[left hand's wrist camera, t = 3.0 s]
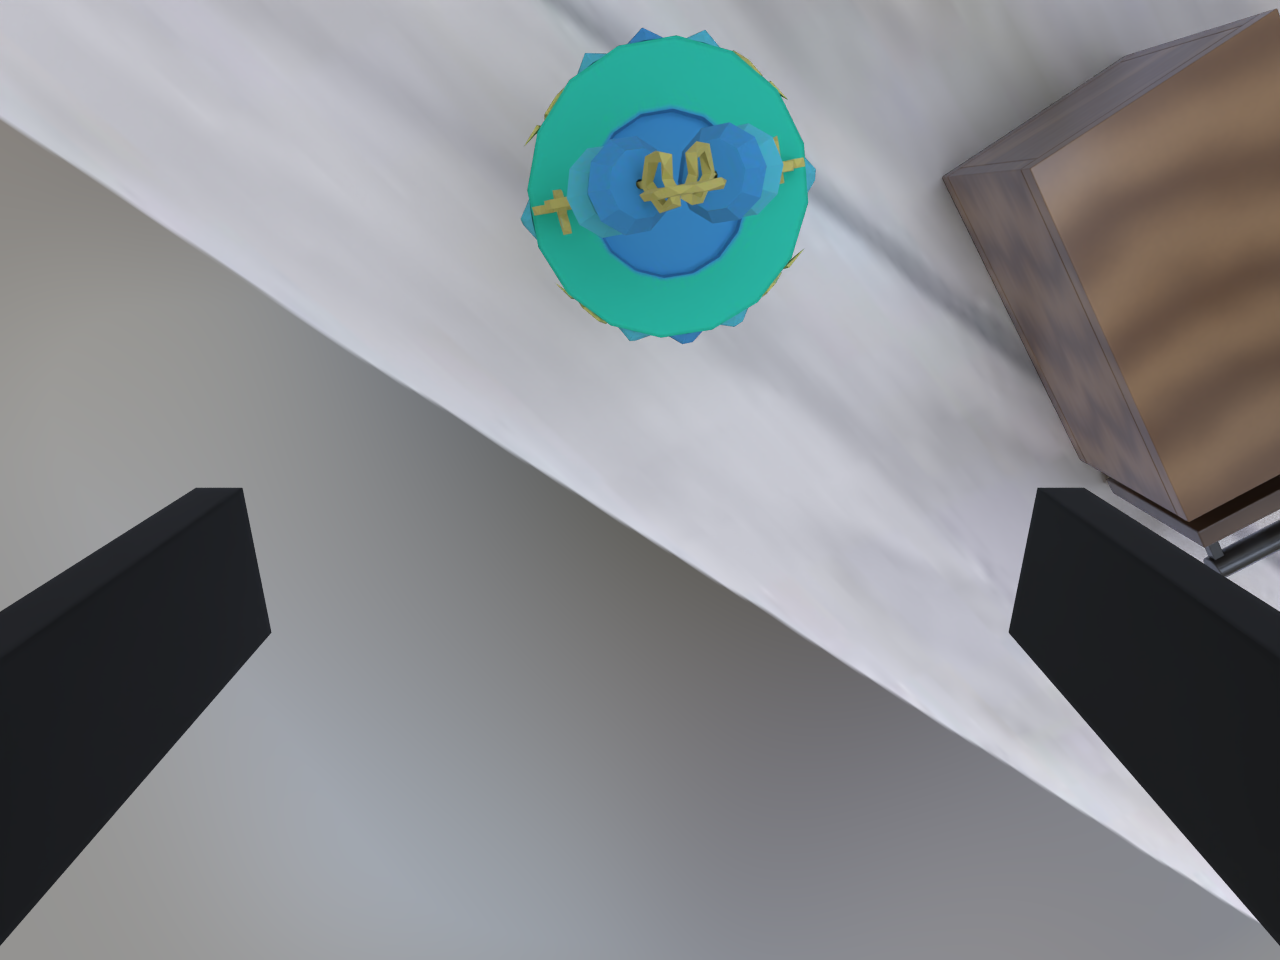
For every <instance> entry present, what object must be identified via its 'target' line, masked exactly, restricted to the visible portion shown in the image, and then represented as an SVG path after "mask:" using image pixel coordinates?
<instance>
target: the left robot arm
mask: <svg viewBox="0 0 1280 960" xmlns="http://www.w3.org/2000/svg"><path fill="white" fill-rule="evenodd" d="M270 634H271V629H270V624H269V618H268V613H267V608H266V603H265V598H264V593H263V588H262V583H261V578H260V573H259V569H258V563H257V558H256V553H255V548H254V543H253V538H252V533H251V528H250V523H249V518H248V513H247V508H246V503H245V498H244V493H243V489H242V488H195V489H193V490H192V491H190V492H189V493H187V494H185V495H184V496H182V497H181V498H179V499H178V500H176V501H174V502H173V503H171V504H170V505H168V506H167V507H165V508H163V509H162V510H160V511H159V512H157V513H155V514H154V515H152V516H151V517H149V518H148V519H146V520H144V521H143V522H141V523H140V524H138V525H137V526H135V527H133V528H132V529H130V530H129V531H127V532H126V533H124V534H122V535H121V536H119V537H118V538H116V539H114V540H113V541H111V542H110V543H108V544H107V545H105V546H103V547H102V548H100V549H99V550H97V551H95V552H94V553H92V554H91V555H89V556H88V557H86V558H84V559H83V560H81V561H80V562H78V563H76V564H75V565H73V566H72V567H70V568H69V569H67V570H65V571H64V572H62V573H61V574H59V575H58V576H56V577H54V578H53V579H51V580H50V581H48V582H47V583H45V584H43V585H42V586H40V587H39V588H37V589H35V590H34V591H32V592H31V593H29V594H27V595H26V596H24V597H23V598H21V599H20V600H18V601H16V602H15V603H13V604H12V605H10V606H9V607H7V608H5V609H4V610H2V611H1V612H0V945H1V944H2V943H3V942H4V941H5V940H6V938H7V937H8V936H9V935H10V934H11V933H12V931H13V930H14V929H15V928H16V927H17V926H18V924H19V923H20V922H21V921H22V920H23V919H24V918H25V916H26V915H27V914H28V913H29V912H30V911H31V909H32V908H33V907H34V906H35V905H36V904H37V903H38V901H39V900H40V899H41V898H42V897H43V896H44V894H45V893H46V892H47V891H48V890H49V889H50V888H51V886H52V885H53V884H54V883H55V882H56V881H57V879H58V878H59V877H60V876H61V875H62V874H63V873H64V871H65V870H66V869H67V868H68V867H69V866H70V864H71V863H72V862H73V861H74V860H75V859H76V858H77V856H78V855H79V854H80V853H81V852H82V851H83V849H84V848H85V847H86V846H87V845H88V844H89V843H90V841H91V840H92V839H93V838H94V837H95V836H96V834H97V833H98V832H99V831H100V830H101V829H102V828H103V826H104V825H105V824H106V823H107V822H108V821H109V819H110V818H111V817H112V816H113V815H114V814H115V812H116V811H117V810H118V809H119V808H120V807H121V806H122V804H123V803H124V802H125V801H126V800H127V799H128V797H129V796H130V795H131V794H132V793H133V792H134V791H135V789H136V788H137V787H138V786H139V785H140V784H141V782H142V781H143V780H144V779H145V778H146V777H147V776H148V774H149V773H150V772H151V771H152V770H153V769H154V767H155V766H156V765H157V764H158V763H159V762H160V760H161V759H162V758H163V757H164V756H165V755H166V754H167V752H168V751H169V750H170V749H171V748H172V747H173V746H174V744H175V743H176V742H177V741H178V740H179V739H180V737H181V736H182V735H183V734H184V733H185V732H186V731H187V729H188V728H189V727H190V726H191V725H192V724H193V722H194V721H195V720H196V719H197V718H198V717H199V715H200V714H201V713H202V712H203V711H204V710H205V709H206V707H207V706H208V705H209V704H210V703H211V702H212V700H213V699H214V698H215V697H216V696H217V695H218V694H219V692H220V691H221V690H222V689H223V688H224V687H225V685H226V684H227V683H228V682H229V681H230V680H231V679H232V677H233V676H234V675H235V674H236V673H237V672H238V670H239V669H240V668H241V667H242V666H243V665H244V663H245V662H246V661H247V660H248V659H249V658H250V657H251V655H252V654H253V653H254V652H255V651H256V650H257V649H258V647H259V646H260V645H261V644H262V643H263V642H264V640H265V639H266V638H267V637H268V636H269V635H270ZM1009 634H1010V635H1011V636H1012V637H1013V638H1014V639H1015V640H1016V642H1017V643H1018V644H1019V645H1020V646H1021V647H1022V649H1023V650H1024V651H1025V652H1026V653H1027V654H1028V655H1029V657H1030V658H1031V659H1032V660H1033V661H1034V662H1035V664H1036V665H1037V666H1038V667H1039V668H1040V669H1041V670H1042V672H1043V673H1044V674H1045V675H1046V676H1047V677H1048V679H1049V680H1050V681H1051V682H1052V683H1053V684H1054V685H1055V687H1056V688H1057V689H1058V690H1059V691H1060V692H1061V694H1062V695H1063V696H1064V697H1065V698H1066V699H1067V700H1068V702H1069V703H1070V704H1071V705H1072V706H1073V707H1074V709H1075V710H1076V711H1077V712H1078V713H1079V714H1080V715H1081V717H1082V718H1083V719H1084V720H1085V721H1086V722H1087V724H1088V725H1089V726H1090V727H1091V728H1092V729H1093V731H1094V732H1095V733H1096V734H1097V735H1098V736H1099V737H1100V739H1101V740H1102V741H1103V742H1104V743H1105V744H1106V746H1107V747H1108V748H1109V749H1110V750H1111V751H1112V752H1113V754H1114V755H1115V756H1116V757H1117V758H1118V759H1119V761H1120V762H1121V763H1122V764H1123V765H1124V766H1125V767H1126V769H1127V770H1128V771H1129V772H1130V773H1131V774H1132V776H1133V777H1134V778H1135V779H1136V780H1137V781H1138V782H1139V784H1140V785H1141V786H1142V787H1143V788H1144V789H1145V791H1146V792H1147V793H1148V794H1149V795H1150V796H1151V797H1152V799H1153V800H1154V801H1155V802H1156V803H1157V804H1158V806H1159V807H1160V808H1161V809H1162V810H1163V811H1164V812H1165V814H1166V815H1167V816H1168V817H1169V818H1170V819H1171V821H1172V822H1173V823H1174V824H1175V825H1176V826H1177V828H1178V829H1179V830H1180V831H1181V832H1182V833H1183V834H1184V836H1185V837H1186V838H1187V839H1188V840H1189V841H1190V843H1191V844H1192V845H1193V846H1194V847H1195V848H1196V849H1197V851H1198V852H1199V853H1200V854H1201V855H1202V856H1203V858H1204V859H1205V860H1206V861H1207V862H1208V863H1209V864H1210V866H1211V867H1212V868H1213V869H1214V870H1215V871H1216V873H1217V874H1218V875H1219V876H1220V877H1221V878H1222V879H1223V881H1224V882H1225V883H1226V884H1227V885H1228V886H1229V888H1230V889H1231V890H1232V891H1233V892H1234V893H1235V894H1236V896H1237V897H1238V898H1239V899H1240V900H1241V901H1242V903H1243V904H1244V905H1245V906H1246V907H1247V908H1248V909H1249V911H1250V912H1251V913H1252V914H1253V915H1254V916H1255V918H1256V919H1257V920H1258V921H1259V922H1260V923H1261V925H1262V926H1263V927H1264V928H1265V929H1266V930H1267V931H1268V933H1269V934H1270V935H1271V936H1272V937H1273V938H1274V939H1275V941H1276V942H1277V943H1278V944H1279V945H1280V612H1279V611H1278V610H1276V609H1275V608H1273V607H1271V606H1270V605H1268V604H1267V603H1265V602H1264V601H1262V600H1260V599H1259V598H1257V597H1256V596H1254V595H1253V594H1251V593H1249V592H1248V591H1246V590H1245V589H1243V588H1241V587H1240V586H1238V585H1237V584H1235V583H1234V582H1232V581H1230V580H1229V579H1227V578H1226V577H1224V576H1222V575H1221V574H1219V573H1218V572H1216V571H1215V570H1213V569H1211V568H1210V567H1208V566H1207V565H1205V564H1204V563H1202V562H1200V561H1199V560H1197V559H1196V558H1194V557H1192V556H1191V555H1189V554H1188V553H1186V552H1185V551H1183V550H1181V549H1180V548H1178V547H1177V546H1175V545H1174V544H1172V543H1170V542H1169V541H1167V540H1166V539H1164V538H1162V537H1161V536H1159V535H1158V534H1156V533H1155V532H1153V531H1151V530H1150V529H1148V528H1147V527H1145V526H1143V525H1142V524H1140V523H1139V522H1137V521H1136V520H1134V519H1132V518H1131V517H1129V516H1128V515H1126V514H1125V513H1123V512H1121V511H1120V510H1118V509H1117V508H1115V507H1113V506H1112V505H1110V504H1109V503H1107V502H1106V501H1104V500H1102V499H1101V498H1099V497H1098V496H1096V495H1095V494H1093V493H1091V492H1090V491H1088V490H1087V489H1085V488H1037V493H1036V498H1035V503H1034V508H1033V513H1032V518H1031V523H1030V528H1029V533H1028V538H1027V543H1026V548H1025V553H1024V558H1023V563H1022V568H1021V573H1020V578H1019V583H1018V588H1017V593H1016V598H1015V603H1014V608H1013V613H1012V618H1011V623H1010V628H1009Z"/></svg>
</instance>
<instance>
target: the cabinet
mask: <svg viewBox="0 0 1280 960" xmlns="http://www.w3.org/2000/svg"><path fill="white" fill-rule="evenodd" d="M943 180H944V182H945V184H946V186H947V188H948V190H949V192H950V194H951V196H952V199H953V201H954V203H955V205H956V207H957V209H958V211H959V213H960V215H961V217H962V219H963V221H964V223H965V225H966V227H967V229H968V231H969V233H970V235H971V237H972V239H973V241H974V244H975V246H976V248H977V250H978V252H979V254H980V256H981V258H982V260H983V262H984V264H985V266H986V268H987V270H988V272H989V274H990V276H991V278H992V280H993V282H994V284H995V286H996V288H997V291H998V293H999V295H1000V297H1001V299H1002V301H1003V303H1004V305H1005V307H1006V309H1007V311H1008V313H1009V315H1010V317H1011V319H1012V321H1013V323H1014V325H1015V327H1016V329H1017V331H1018V333H1019V335H1020V338H1021V340H1022V342H1023V344H1024V346H1025V348H1026V350H1027V352H1028V354H1029V356H1030V358H1031V360H1032V362H1033V364H1034V366H1035V368H1036V370H1037V372H1038V374H1039V376H1040V378H1041V380H1042V382H1043V385H1044V387H1045V389H1046V391H1047V393H1048V395H1049V397H1050V399H1051V401H1052V403H1053V405H1054V407H1055V409H1056V411H1057V413H1058V415H1059V417H1060V419H1061V421H1062V423H1063V425H1064V427H1065V429H1066V432H1067V434H1068V436H1069V438H1070V440H1071V442H1072V444H1073V446H1074V448H1075V450H1076V452H1077V454H1078V456H1079V458H1080V460H1081V461H1083V462H1085V463H1087V464H1089V465H1090V466H1092V467H1094V468H1096V469H1097V470H1099V471H1101V472H1103V473H1104V474H1106V475H1108V476H1110V477H1111V478H1113V479H1115V480H1117V481H1118V482H1120V483H1122V484H1124V485H1125V486H1127V487H1129V488H1131V489H1132V490H1134V491H1136V492H1138V493H1139V494H1141V495H1143V496H1145V497H1146V498H1148V499H1150V500H1152V501H1153V502H1155V503H1157V504H1159V505H1160V506H1162V507H1164V508H1166V509H1167V510H1169V511H1171V512H1173V513H1174V514H1176V515H1178V516H1179V517H1181V518H1183V519H1184V520H1186V521H1188V522H1190V521H1192V520H1194V519H1196V518H1197V517H1199V516H1201V515H1203V514H1205V513H1207V512H1209V511H1211V510H1213V509H1215V508H1216V507H1218V506H1220V505H1222V504H1224V503H1226V502H1228V501H1230V500H1232V499H1234V498H1235V497H1237V496H1239V495H1241V494H1243V493H1245V492H1247V491H1249V490H1251V489H1253V488H1255V487H1256V486H1258V485H1260V484H1262V483H1264V482H1266V481H1268V480H1270V479H1272V478H1274V477H1275V476H1277V475H1279V474H1280V16H1279V13H1278V10H1277V9H1274V10H1270V11H1267V12H1264V13H1261V14H1258V15H1255V16H1251V17H1248V18H1245V19H1242V20H1239V21H1235V22H1232V23H1229V24H1226V25H1223V26H1219V27H1216V28H1213V29H1210V30H1207V31H1203V32H1200V33H1197V34H1194V35H1191V36H1187V37H1184V38H1181V39H1178V40H1174V41H1171V42H1168V43H1165V44H1162V45H1158V46H1155V47H1152V48H1149V49H1146V50H1142V51H1139V52H1136V53H1133V54H1130V55H1126V56H1124V57H1123V58H1121V59H1120V60H1118V61H1117V62H1115V63H1114V64H1112V65H1111V66H1109V67H1108V68H1106V69H1105V70H1103V71H1102V72H1100V73H1099V74H1097V75H1096V76H1094V77H1093V78H1091V79H1090V80H1088V81H1087V82H1085V83H1084V84H1082V85H1081V86H1079V87H1078V88H1076V89H1075V90H1073V91H1072V92H1070V93H1069V94H1067V95H1066V96H1064V97H1063V98H1061V99H1060V100H1058V101H1056V102H1055V103H1053V104H1052V105H1050V106H1049V107H1047V108H1046V109H1044V110H1043V111H1041V112H1040V113H1038V114H1037V115H1035V116H1034V117H1032V118H1031V119H1029V120H1028V121H1026V122H1025V123H1023V124H1022V125H1020V126H1019V127H1017V128H1016V129H1014V130H1013V131H1011V132H1010V133H1008V134H1007V135H1005V136H1004V137H1002V138H1001V139H999V140H998V141H996V142H995V143H993V144H991V145H990V146H988V147H987V148H985V149H984V150H982V151H981V152H979V153H978V154H976V155H975V156H973V157H972V158H970V159H969V160H967V161H966V162H964V163H963V164H961V165H960V166H958V167H957V168H955V169H954V170H952V171H951V172H949V173H948V174H946V175H945V176H943Z"/></svg>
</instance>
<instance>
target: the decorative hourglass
mask: <svg viewBox="0 0 1280 960" xmlns="http://www.w3.org/2000/svg"><path fill="white" fill-rule="evenodd" d="M781 96H782V97H784V98H785V99H787V98H786V97H785V96H784V95H783V94H782V93H781V92H780V90H779V89H778V88H777V87H776V86H775V85H774V84H773V83H772V82H771V81H770V82H768V81H767V80H766V79H765V78H763V77H762V74H761V73H760V72H759V71H758V70H757V69H756V68H755V66H754V65H753V64H752V63H751V62H750V61H749V60H748V59H747V58H745V57H744V56H742V55H740V54H739V53H737V52H735V51H734V50H733V51H730V50H727V49H723V48H720V47H719V46H718V45H717V43H716V42H715V41H714V40H713V39H712V37H711V36H710V35H709V34H708V33H707V31H706V30H704V31H701V32H699V33H697V34H695V35H692V36H690V37H688V38H684V37H680V36H677V35H676V36H670V37H665V38H663V37H661V36H658V35H656V34H654V33H652V32H650V31H648V30H646V29H644V28H642V29H641V30H640V31H639V32H638V33H637V34H636V35H635V36H634V37H633V38H632V40H631V41H630V42H629V43H628V44H626V45H620V46H617V47H616V48H615V49H613V50H612V51H610V52H609V53H607V54H598V53H585V55H584V58H583V60H582V63H581V66H580V68H579V71H578V74H577V75H576V76H575V77H573V78H572V79H570V80H569V82H568V83H567V85H566V87H565V88H564V89H563V90H562V91H560V92H559V93H558V94H557V95H556V97H555V98H554V100H553V102H552V103H551V105H550V106H549V108H548V110H547V111H546V113H545V118H544V122H543V124H542V125H541V126H539V125H537V126H536V127H535V129H534V131H533V132H532V134H531V136H530V137H529V139H528V141H527V142H526V144H527V143H528V142H529V141H530V140H531V139H532V138H533V136H534V135H535V134H537V139H536V144H535V150H534V156H533V161H532V167H531V173H530V178H529V184H528V190H527V191H528V196H529V201H528V203H527V206H526V208H525V210H524V213H523V215H522V217H521V221H522V223H523V225H524V226H525V227H526V228H527V229H528V230H529V232H530V233H531V234H532V235H533V236H534V237H535V238H536V239H537V242H538V247H539V249H540V250H541V252H542V254H543V255H544V257H545V258H546V260H547V261H548V263H549V265H550V266H551V268H552V269H553V271H554V273H555V274H556V276H557V277H558V279H559V281H560V282H561V284H562V285H563V287H564V289H565V290H564V289H563V288H562V287H560V286H559V285H558V286H559V287H560V288H561V289H562V290H563V291H564V292H565V293H566V294H567V295H568V296H569V297H570V298H571V299H575V300H577V301H578V302H579V303H580V305H581V306H582V308H583V309H585V310H586V311H587V312H588V313H589V314H591V315H592V316H593V317H594V318H595V319H597V320H598V321H599V322H602V323H605V324H607V323H608V324H610V325H611V326H616V327H619V329H620V330H621V331H622V332H623V333H624V335H625V336H626V337H627V338H628V339H629V340H630V341H635V340H638V339H641V338H644V337H647V336H650V335H652V336H657V337H668V336H669V337H671V338H673V339H675V340H676V341H678V342H680V343H682V344H685V343H690V342H693V341H694V340H695V339H696V338H697V337H698V335H699V334H700V333H701V332H702V331H706V330H712V329H714V328H715V327H717V326H719V325H726V326H733V327H734V326H736V325H738V324H739V323H741V322H742V321H743V319H744V317H745V314H746V312H747V309H748V308H749V307H750V306H752V305H754V304H755V303H757V302H758V301H759V300H760V298H761V297H762V296H764V295H765V294H766V293H767V292H768V291H769V290H770V289H771V288H772V287H773V286H774V285H775V283H776V282H777V280H778V278H779V277H780V275H781V273H782V272H781V271H782V270H783V269H785V268H789V267H790V266H791V265H792V263H793V262H794V261H795V260H796V258H797V257H798V256H799V254H800V253H801V252H802V251H803V250H802V251H801V252H799V253H798V254H797V255H796V256H795V257H793V258H792V255H793V251H794V248H795V245H796V241H797V238H798V235H799V231H800V228H801V225H802V221H803V218H804V215H805V211H806V208H807V205H808V194H807V193H808V191H809V189H810V188H811V186H812V184H813V182H814V181H815V172H816V169H815V168H814V167H813V166H812V165H811V163H810V162H809V161H808V160H807V159H806V158H805V153H804V143H803V141H802V139H801V137H800V135H799V133H798V130H797V128H796V126H795V124H794V122H793V120H792V118H791V116H790V114H789V112H788V110H787V108H786V106H785V104H784V102H783V100H782V98H781ZM787 100H788V99H787ZM526 144H525V145H526ZM791 258H792V259H791ZM790 259H791V260H790Z"/></svg>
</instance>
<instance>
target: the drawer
mask: <svg viewBox="0 0 1280 960" xmlns="http://www.w3.org/2000/svg"><path fill="white" fill-rule="evenodd" d="M1107 481H1108V483H1109V485H1110V488H1111V490H1112V492H1113V493H1114V494H1116V495H1118V496H1119V497H1121V498H1123V499H1124V500H1126V501H1128V502H1129V503H1131V504H1133V505H1134V506H1136V507H1138V508H1139V509H1141V510H1143V511H1144V512H1146V513H1148V514H1149V515H1151V516H1153V517H1154V518H1156V519H1158V520H1159V521H1161V522H1163V523H1164V524H1166V525H1168V526H1169V527H1171V528H1173V529H1174V530H1176V531H1178V532H1179V533H1181V534H1183V535H1184V536H1186V537H1188V538H1189V539H1191V540H1193V541H1194V542H1196V543H1198V544H1199V545H1201V546H1203V547H1205V549H1206V552H1207V554H1208V557H1206V558H1204V564H1205V565H1207V566H1208V567H1210V568H1211V569H1213V570H1215V571H1216V572H1218V573H1219V574H1221V575H1222V576H1224V577H1228V576H1230V575H1232V574H1234V573H1236V572H1238V571H1240V570H1242V569H1244V568H1246V567H1248V566H1250V565H1252V564H1254V563H1255V562H1257V561H1259V560H1261V559H1263V558H1265V557H1267V556H1269V555H1271V554H1273V553H1275V552H1277V551H1279V550H1280V520H1278V521H1276V522H1274V523H1272V524H1270V525H1268V526H1266V527H1264V528H1262V529H1260V530H1258V531H1257V532H1255V533H1253V534H1251V535H1249V536H1247V537H1245V538H1243V539H1241V540H1239V541H1237V542H1235V543H1233V544H1231V545H1229V546H1227V547H1225V548H1223V549H1221V547H1220V545H1219V543H1218V541H1219V540H1221V539H1223V538H1225V537H1227V536H1229V535H1231V534H1233V533H1235V532H1236V531H1238V530H1240V529H1242V528H1244V527H1246V526H1248V525H1250V524H1252V523H1254V522H1256V521H1258V520H1260V519H1262V518H1264V517H1266V516H1267V515H1269V514H1271V513H1273V512H1275V511H1277V510H1279V509H1280V474H1279V475H1277V476H1275V477H1274V478H1272V479H1270V480H1268V481H1266V482H1264V483H1262V484H1260V485H1258V486H1256V487H1255V488H1253V489H1251V490H1249V491H1247V492H1245V493H1243V494H1241V495H1239V496H1237V497H1235V498H1234V499H1232V500H1230V501H1228V502H1226V503H1224V504H1222V505H1220V506H1218V507H1216V508H1215V509H1213V510H1211V511H1209V512H1207V513H1205V514H1203V515H1201V516H1199V517H1197V518H1196V519H1194V520H1192V521H1190V522H1188V521H1186V520H1184V519H1183V518H1181V517H1179V516H1178V515H1176V514H1174V513H1173V512H1171V511H1169V510H1167V509H1166V508H1164V507H1162V506H1160V505H1159V504H1157V503H1155V502H1153V501H1152V500H1150V499H1148V498H1146V497H1145V496H1143V495H1141V494H1139V493H1138V492H1136V491H1134V490H1132V489H1131V488H1129V487H1127V486H1125V485H1124V484H1122V483H1120V482H1118V481H1117V480H1115V479H1113V478H1111V477H1110V478H1108V479H1107Z"/></svg>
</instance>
